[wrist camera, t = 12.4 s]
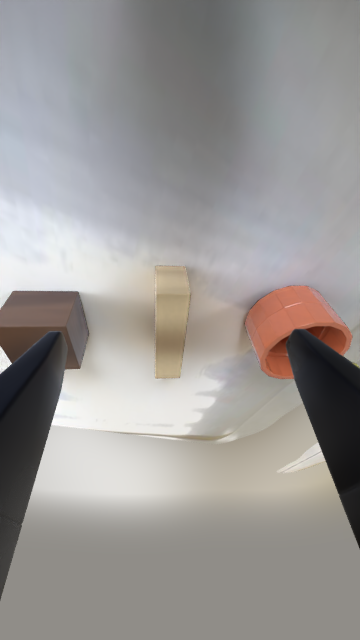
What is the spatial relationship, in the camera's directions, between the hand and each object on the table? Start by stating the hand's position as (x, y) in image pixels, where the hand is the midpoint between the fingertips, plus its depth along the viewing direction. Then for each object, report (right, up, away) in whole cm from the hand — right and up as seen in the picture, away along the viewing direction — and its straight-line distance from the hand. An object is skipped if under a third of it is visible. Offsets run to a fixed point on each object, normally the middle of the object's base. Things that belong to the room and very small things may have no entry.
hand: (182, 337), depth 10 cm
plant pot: (+11, +1, +17) cm, 20 cm away
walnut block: (-12, +1, +14) cm, 19 cm away
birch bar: (-1, +1, +15) cm, 15 cm away
